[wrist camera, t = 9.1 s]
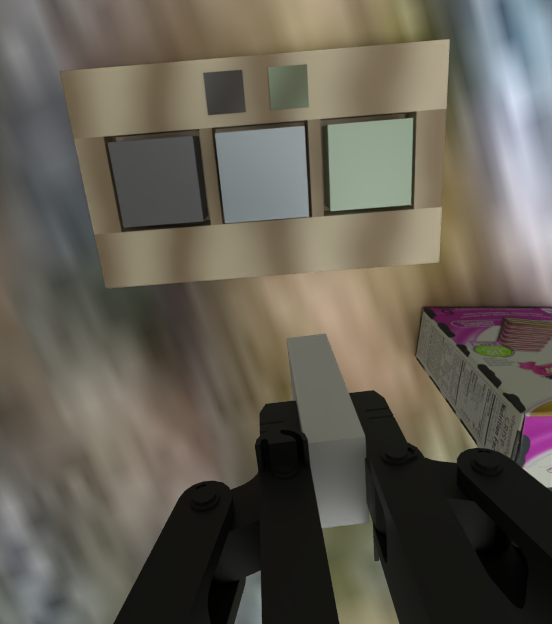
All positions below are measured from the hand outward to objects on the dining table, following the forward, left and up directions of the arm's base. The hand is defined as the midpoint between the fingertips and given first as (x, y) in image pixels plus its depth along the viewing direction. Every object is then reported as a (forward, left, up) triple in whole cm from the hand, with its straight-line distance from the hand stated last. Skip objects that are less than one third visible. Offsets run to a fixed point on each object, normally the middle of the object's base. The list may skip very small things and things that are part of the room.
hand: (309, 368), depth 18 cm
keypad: (-1, +6, -19) cm, 20 cm away
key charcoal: (-8, +6, -18) cm, 21 cm away
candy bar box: (+16, -8, -19) cm, 26 cm away
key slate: (-1, +6, -17) cm, 18 cm away
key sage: (+6, +6, -18) cm, 20 cm away
